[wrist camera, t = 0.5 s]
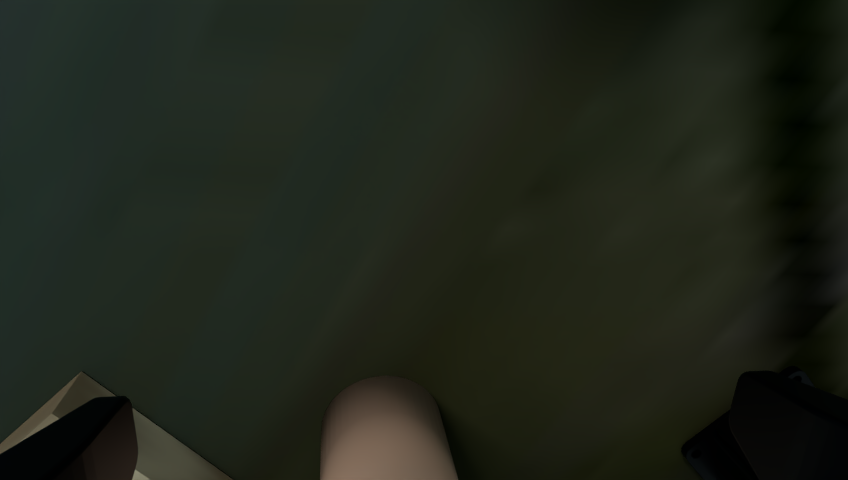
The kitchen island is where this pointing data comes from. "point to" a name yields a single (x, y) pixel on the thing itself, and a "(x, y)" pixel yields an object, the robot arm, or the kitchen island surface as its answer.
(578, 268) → the kitchen island surface
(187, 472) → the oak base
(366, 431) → the spice jar
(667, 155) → the kitchen island surface
